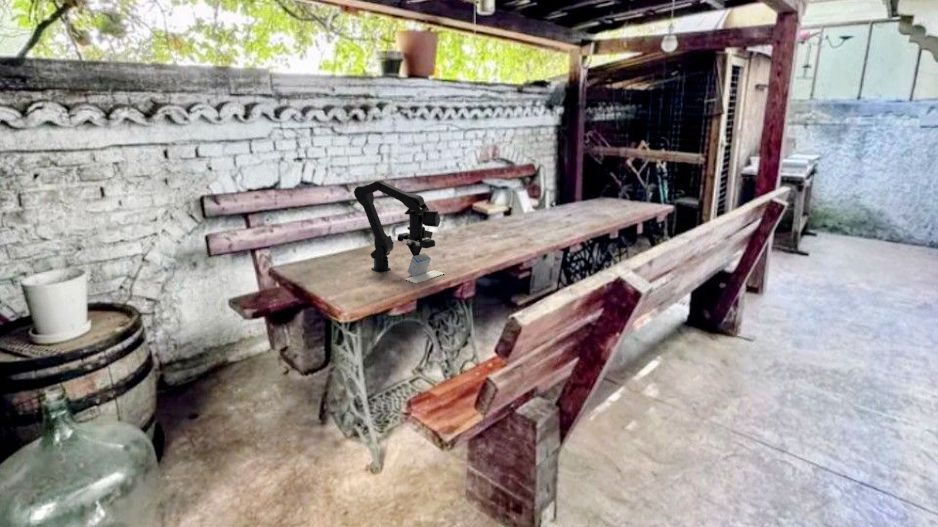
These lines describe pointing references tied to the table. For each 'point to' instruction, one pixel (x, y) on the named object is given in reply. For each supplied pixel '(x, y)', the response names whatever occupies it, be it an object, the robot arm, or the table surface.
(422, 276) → the white rectangular board
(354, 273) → the table surface
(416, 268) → the medicine box
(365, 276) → the table surface
